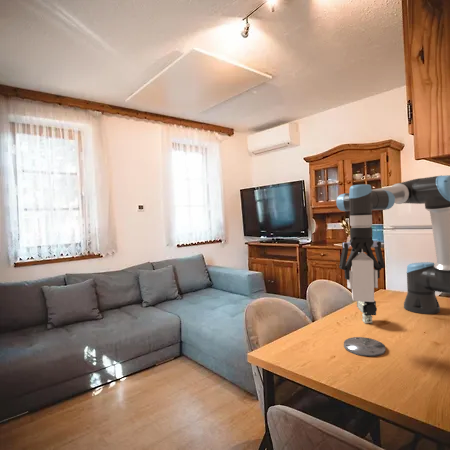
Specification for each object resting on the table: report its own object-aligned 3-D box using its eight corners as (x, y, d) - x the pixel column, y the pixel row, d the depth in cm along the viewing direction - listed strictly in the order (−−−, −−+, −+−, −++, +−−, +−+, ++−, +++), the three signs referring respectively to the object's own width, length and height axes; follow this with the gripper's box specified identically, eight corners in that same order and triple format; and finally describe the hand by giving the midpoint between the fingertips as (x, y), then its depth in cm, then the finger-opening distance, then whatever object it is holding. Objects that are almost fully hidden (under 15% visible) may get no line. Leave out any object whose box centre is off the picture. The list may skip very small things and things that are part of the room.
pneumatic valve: (368, 317, 147) (367, 292, 146) (377, 327, 135) (377, 299, 135) (355, 318, 147) (355, 292, 147) (364, 327, 136) (363, 299, 135)
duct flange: (373, 339, 123) (373, 336, 123) (393, 355, 109) (393, 351, 109) (338, 341, 123) (338, 338, 123) (353, 357, 109) (353, 354, 109)
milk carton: (372, 297, 118) (371, 247, 118) (374, 302, 112) (373, 249, 111) (351, 296, 121) (350, 247, 120) (352, 301, 114) (351, 249, 113)
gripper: (384, 225, 119) (385, 284, 120) (328, 227, 119) (330, 286, 120) (395, 226, 112) (396, 288, 113) (335, 228, 111) (337, 291, 112)
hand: (362, 287), depth 116 cm, fingers closed on milk carton, 9 cm apart
